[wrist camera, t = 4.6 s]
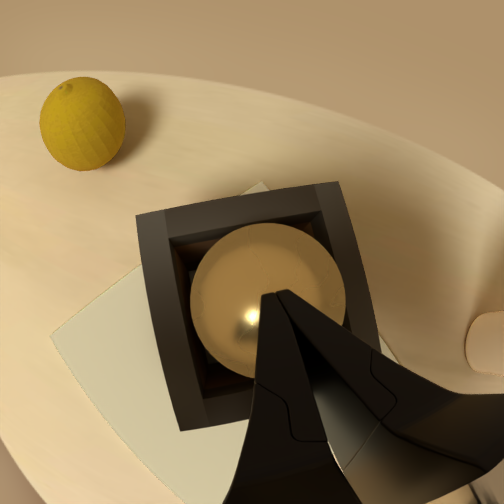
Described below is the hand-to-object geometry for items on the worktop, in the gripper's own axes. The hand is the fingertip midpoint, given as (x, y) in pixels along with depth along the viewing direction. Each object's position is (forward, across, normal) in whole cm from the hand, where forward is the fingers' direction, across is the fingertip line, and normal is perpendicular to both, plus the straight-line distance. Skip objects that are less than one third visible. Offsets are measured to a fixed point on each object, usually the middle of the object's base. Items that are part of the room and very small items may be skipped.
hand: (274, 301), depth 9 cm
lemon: (+16, +8, -2) cm, 18 cm away
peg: (+6, 0, +6) cm, 9 cm away
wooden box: (+7, 0, +7) cm, 10 cm away
